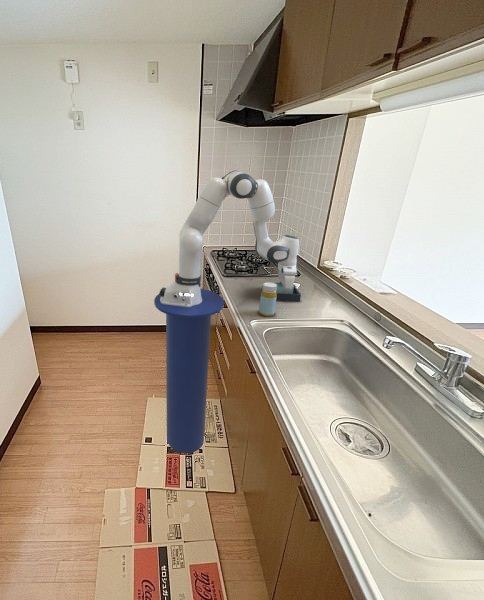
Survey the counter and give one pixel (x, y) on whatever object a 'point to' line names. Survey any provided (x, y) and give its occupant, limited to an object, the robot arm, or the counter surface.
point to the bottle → (268, 299)
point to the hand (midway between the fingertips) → (283, 291)
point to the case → (281, 288)
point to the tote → (289, 296)
